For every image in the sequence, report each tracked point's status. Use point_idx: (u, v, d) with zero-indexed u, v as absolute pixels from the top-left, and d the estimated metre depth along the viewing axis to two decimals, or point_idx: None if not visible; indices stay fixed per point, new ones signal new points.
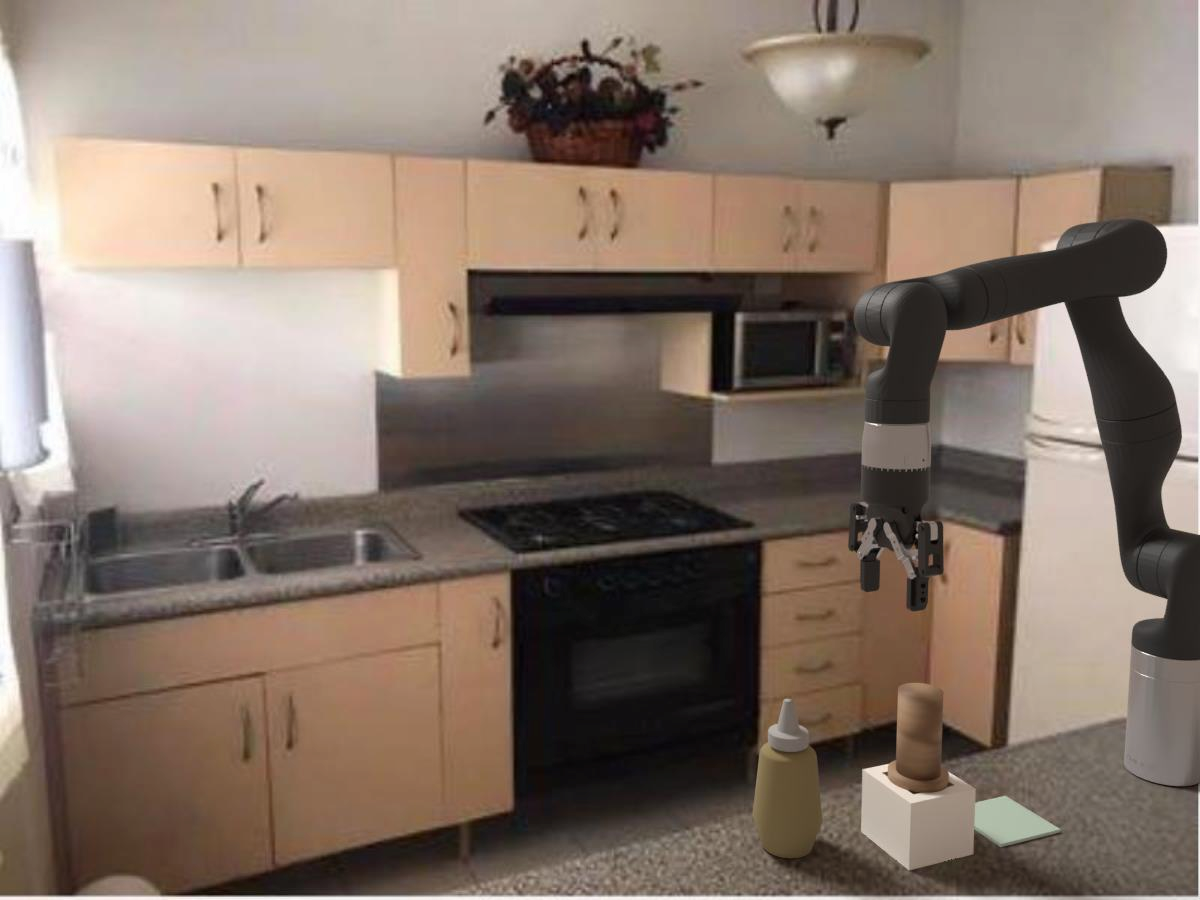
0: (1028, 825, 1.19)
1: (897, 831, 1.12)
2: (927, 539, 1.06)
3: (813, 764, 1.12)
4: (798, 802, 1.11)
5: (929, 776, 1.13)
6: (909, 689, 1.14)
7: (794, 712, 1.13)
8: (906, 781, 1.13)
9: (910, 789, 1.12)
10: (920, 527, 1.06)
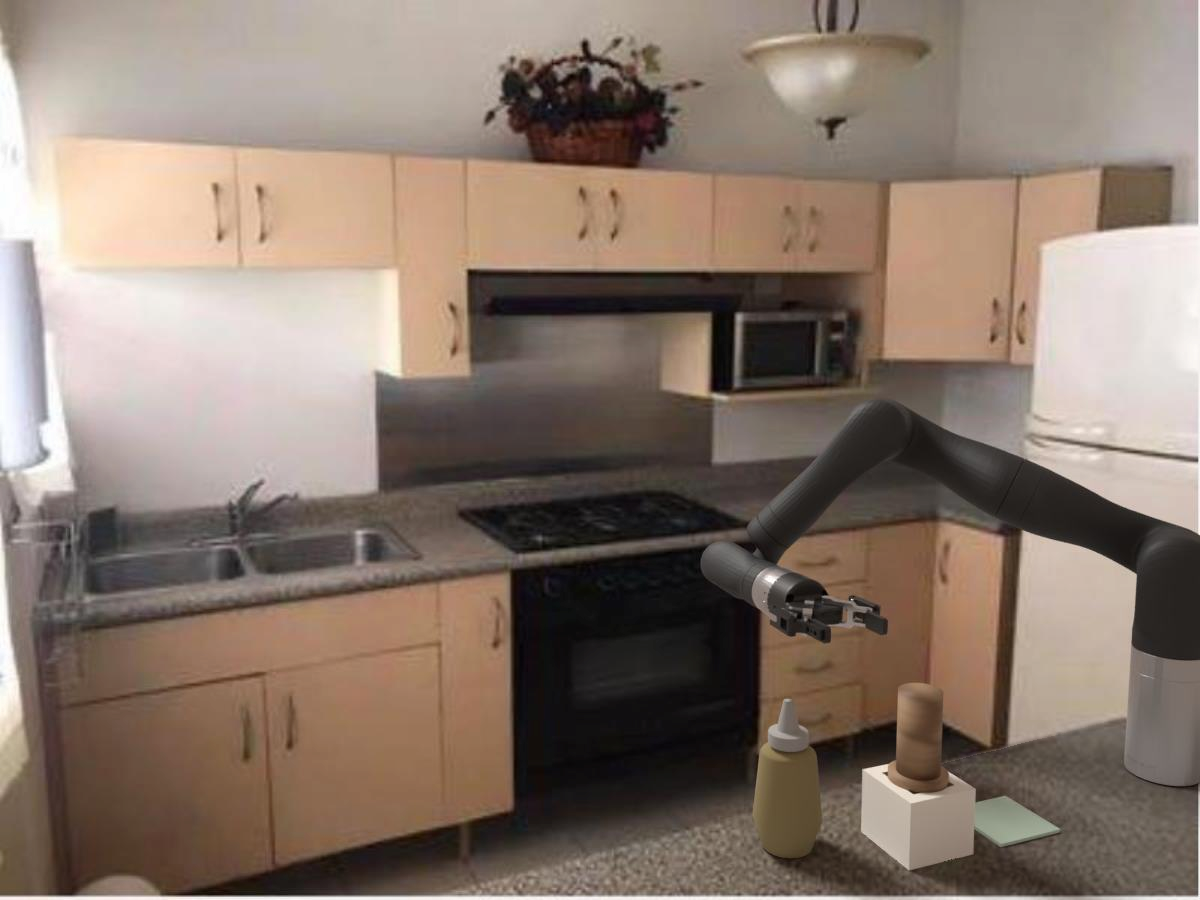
0: (1028, 825, 1.19)
1: (897, 831, 1.12)
2: (774, 624, 1.30)
3: (813, 764, 1.12)
4: (798, 802, 1.11)
5: (929, 776, 1.13)
6: (909, 689, 1.14)
7: (794, 712, 1.13)
8: (906, 781, 1.13)
9: (910, 789, 1.12)
10: None
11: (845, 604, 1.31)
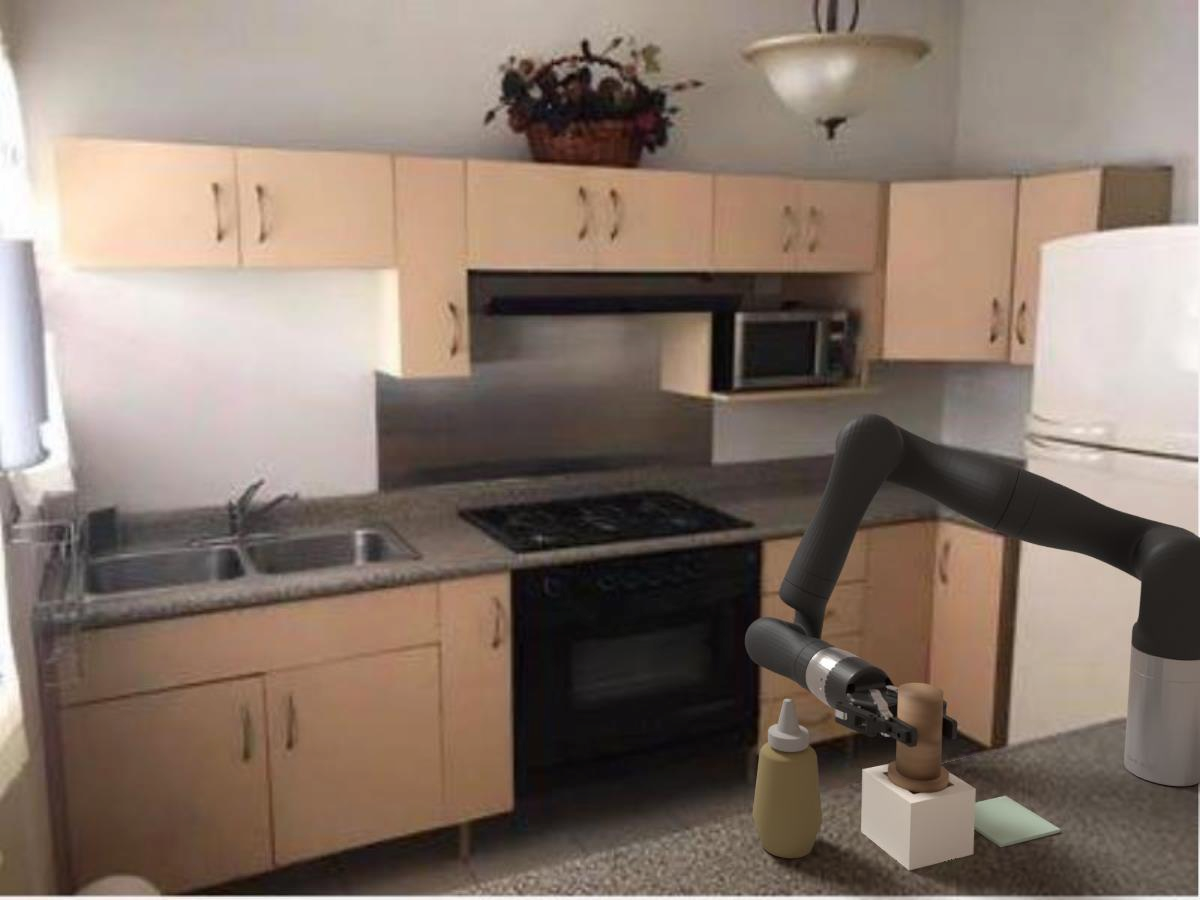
0: (1028, 825, 1.19)
1: (897, 831, 1.12)
2: (843, 723, 1.17)
3: (813, 764, 1.12)
4: (798, 802, 1.11)
5: (929, 776, 1.13)
6: (909, 689, 1.14)
7: (794, 712, 1.13)
8: (906, 781, 1.13)
9: (910, 789, 1.12)
10: None
11: None
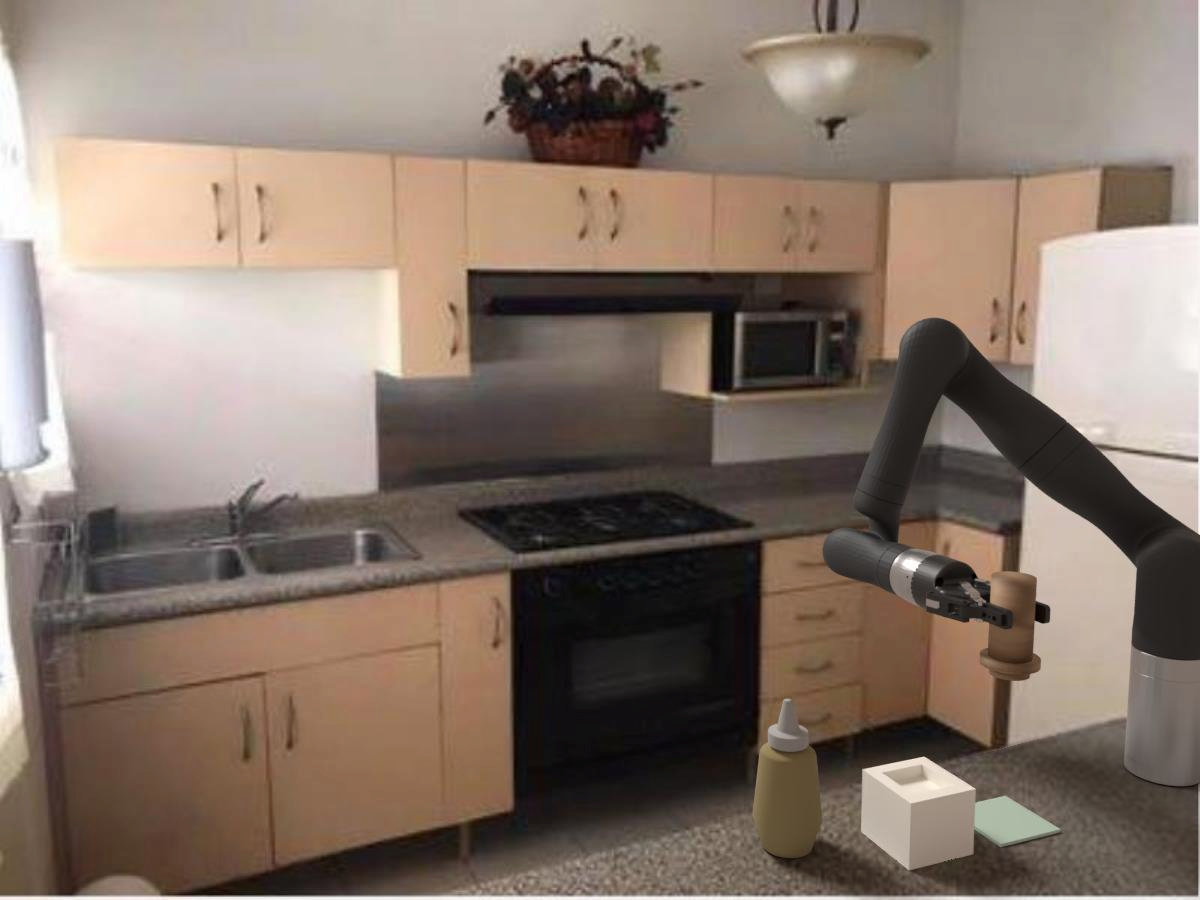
0: (1028, 825, 1.19)
1: (897, 831, 1.12)
2: (935, 612, 1.20)
3: (813, 764, 1.12)
4: (798, 802, 1.11)
5: (1023, 659, 1.15)
6: (1002, 576, 1.17)
7: (794, 712, 1.13)
8: (1000, 664, 1.15)
9: (1004, 671, 1.15)
10: None
11: None
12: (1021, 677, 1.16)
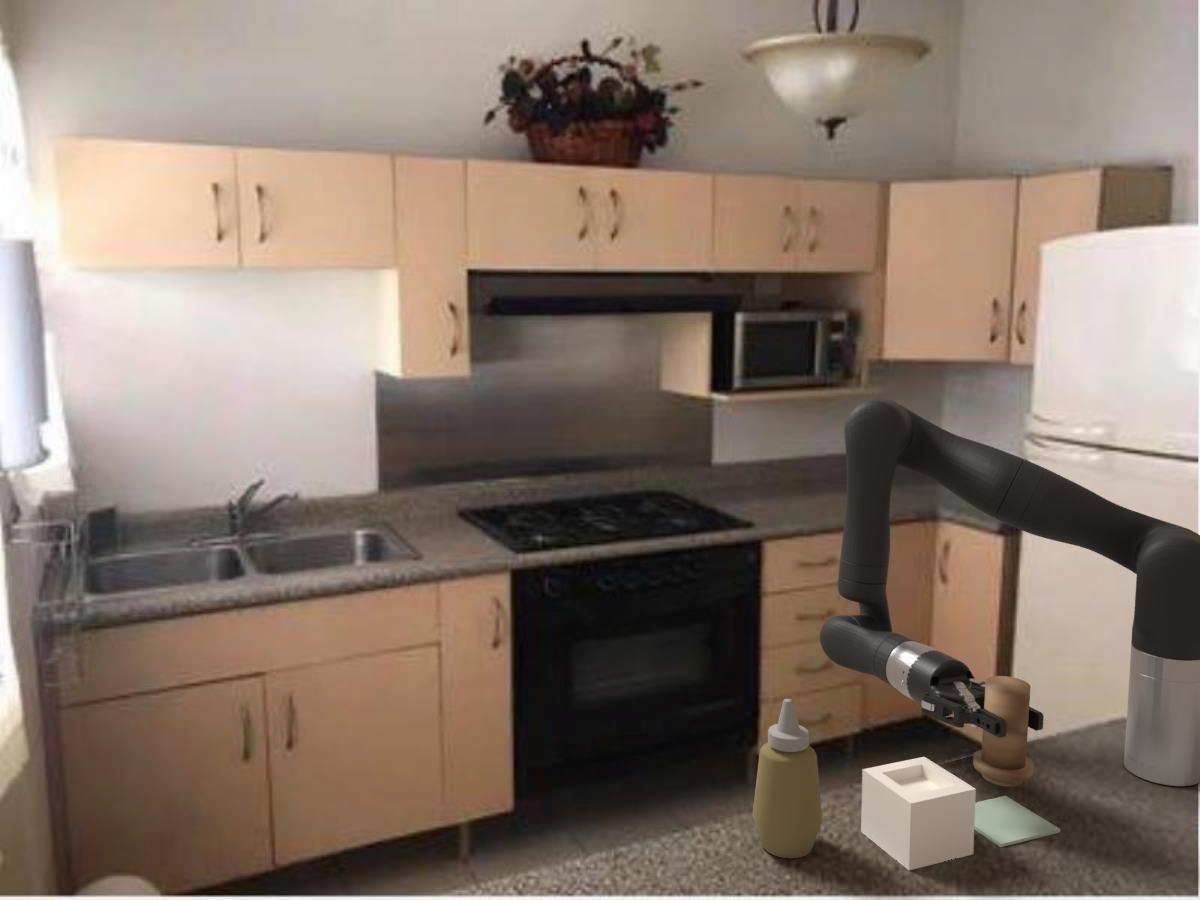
0: (1028, 825, 1.19)
1: (897, 831, 1.12)
2: (930, 714, 1.22)
3: (813, 764, 1.12)
4: (798, 802, 1.11)
5: (1016, 765, 1.17)
6: (996, 682, 1.19)
7: (794, 712, 1.13)
8: (993, 770, 1.17)
9: (997, 778, 1.17)
10: None
11: None
12: (1014, 783, 1.18)
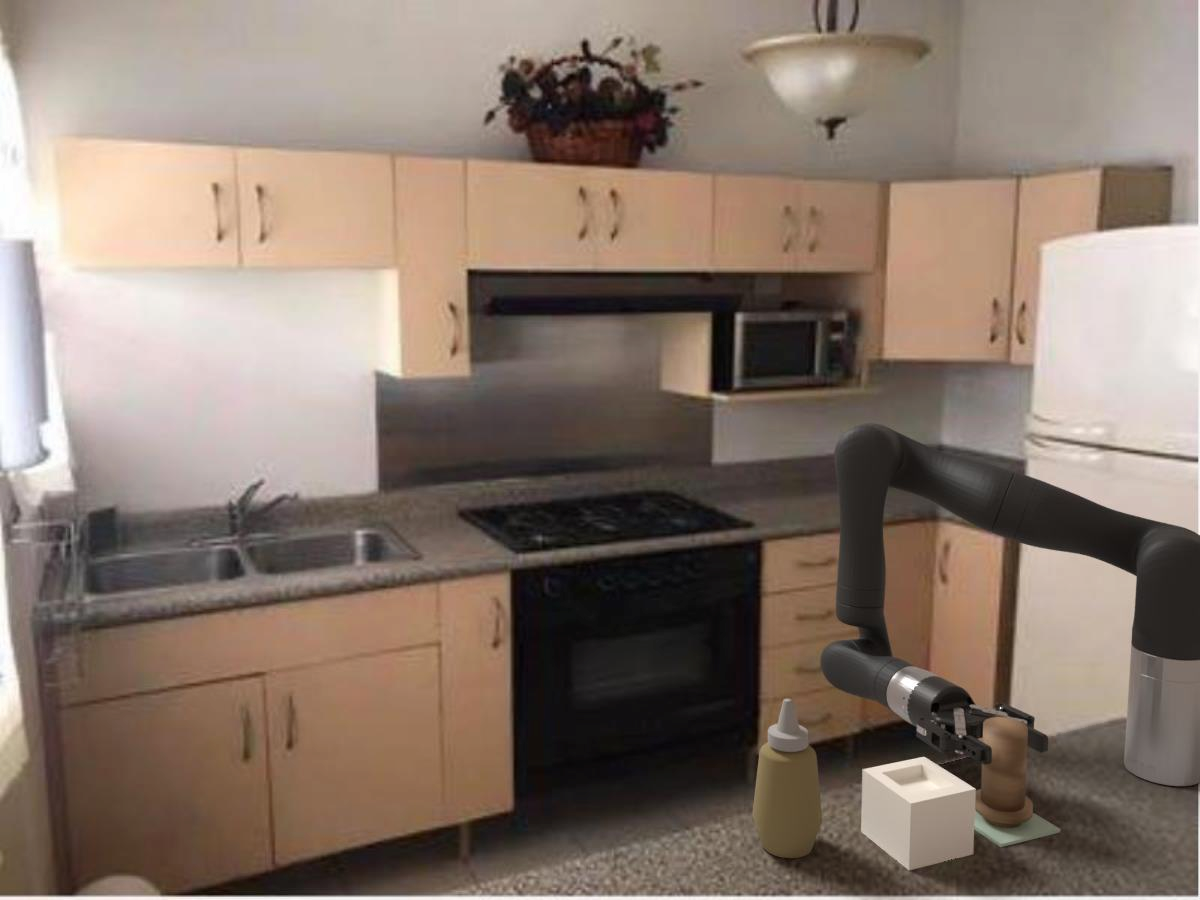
0: (1028, 825, 1.19)
1: (897, 831, 1.12)
2: (922, 738, 1.23)
3: (813, 764, 1.12)
4: (798, 802, 1.11)
5: (1015, 807, 1.18)
6: (994, 725, 1.19)
7: (794, 712, 1.13)
8: (993, 813, 1.18)
9: (997, 820, 1.18)
10: None
11: (997, 716, 1.24)
12: (1014, 824, 1.19)
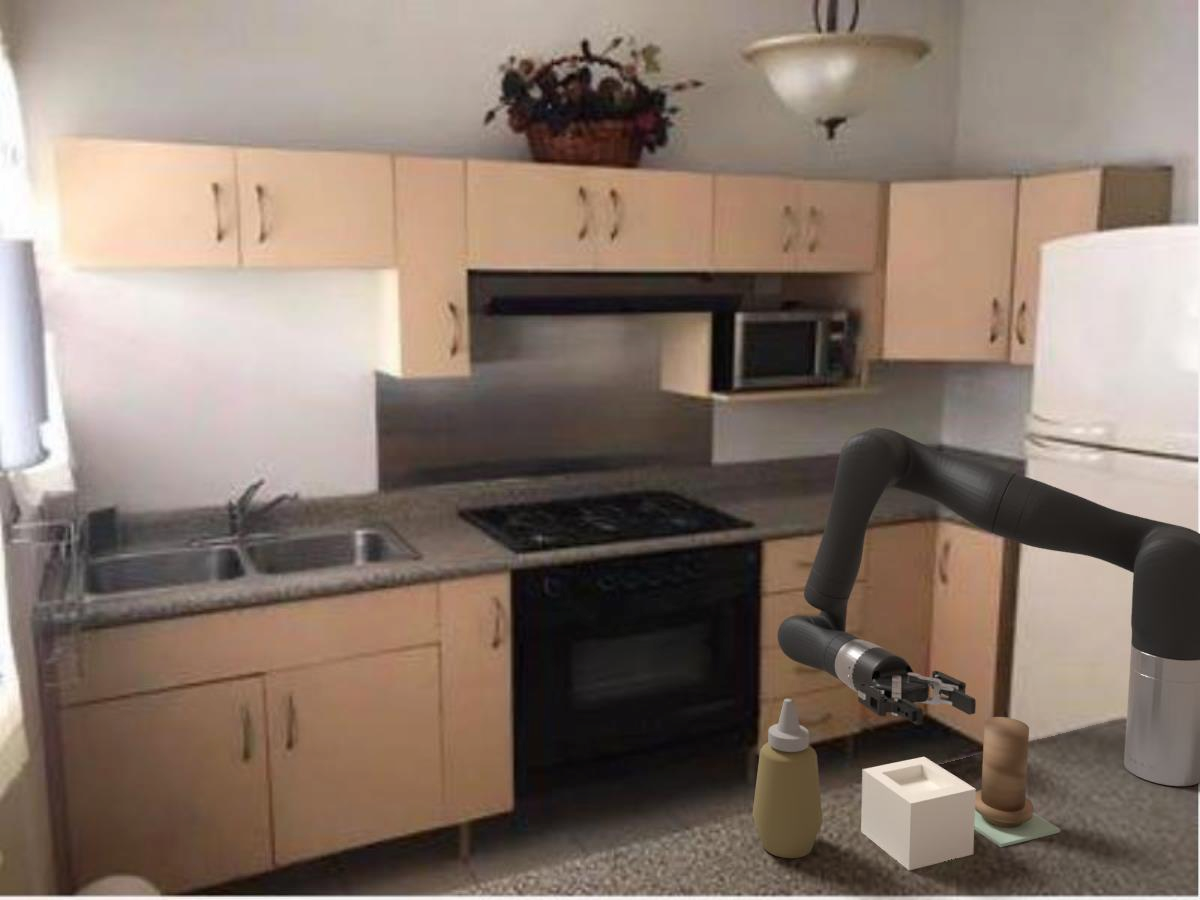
0: (1028, 825, 1.19)
1: (897, 831, 1.12)
2: (863, 702, 1.35)
3: (813, 764, 1.12)
4: (798, 802, 1.11)
5: (1015, 807, 1.18)
6: (995, 724, 1.20)
7: (794, 712, 1.13)
8: (994, 812, 1.18)
9: (998, 820, 1.18)
10: None
11: (931, 682, 1.36)
12: (1014, 824, 1.19)
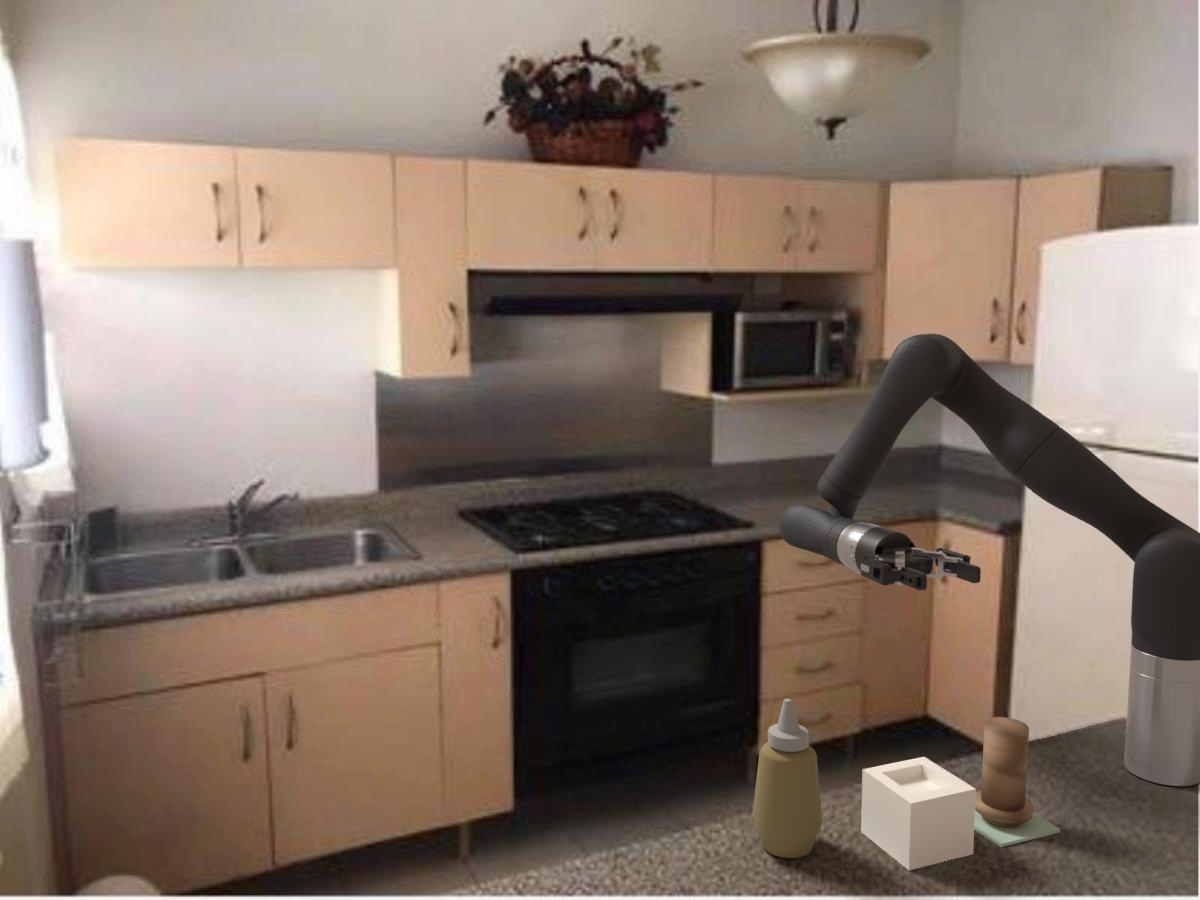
0: (1028, 825, 1.19)
1: (897, 831, 1.12)
2: (866, 575, 1.33)
3: (813, 764, 1.12)
4: (798, 802, 1.11)
5: (1015, 807, 1.18)
6: (995, 724, 1.20)
7: (794, 712, 1.13)
8: (994, 812, 1.18)
9: (998, 820, 1.18)
10: None
11: (935, 555, 1.33)
12: (1014, 824, 1.19)
